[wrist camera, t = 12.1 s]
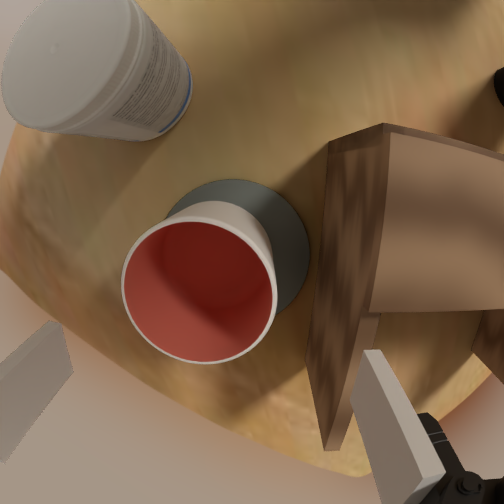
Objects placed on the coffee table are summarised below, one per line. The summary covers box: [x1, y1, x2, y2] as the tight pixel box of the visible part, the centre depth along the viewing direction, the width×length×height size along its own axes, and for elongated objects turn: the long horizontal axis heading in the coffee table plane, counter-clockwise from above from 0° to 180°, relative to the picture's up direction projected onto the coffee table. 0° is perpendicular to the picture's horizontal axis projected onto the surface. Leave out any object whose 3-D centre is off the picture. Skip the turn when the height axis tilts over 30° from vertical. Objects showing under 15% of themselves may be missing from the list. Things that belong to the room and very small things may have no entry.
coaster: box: [166, 179, 310, 315], centre depth 29 cm, size 14×14×1 cm
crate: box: [305, 123, 504, 451], centre depth 22 cm, size 22×24×14 cm
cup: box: [121, 201, 277, 364], centre depth 24 cm, size 10×10×10 cm
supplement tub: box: [2, 0, 193, 141], centre depth 18 cm, size 10×10×15 cm
